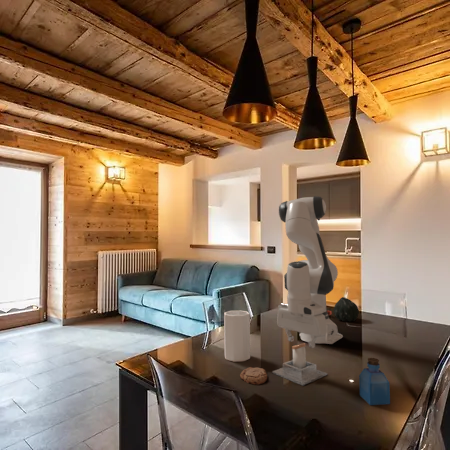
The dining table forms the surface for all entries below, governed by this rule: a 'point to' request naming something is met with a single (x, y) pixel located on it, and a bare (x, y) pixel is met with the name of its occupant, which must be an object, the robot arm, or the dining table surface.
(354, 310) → the squash
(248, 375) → the cookie
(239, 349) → the cup
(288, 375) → the duct collar
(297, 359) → the white lidded jar
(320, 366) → the dining table surface
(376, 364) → the perfume bottle
